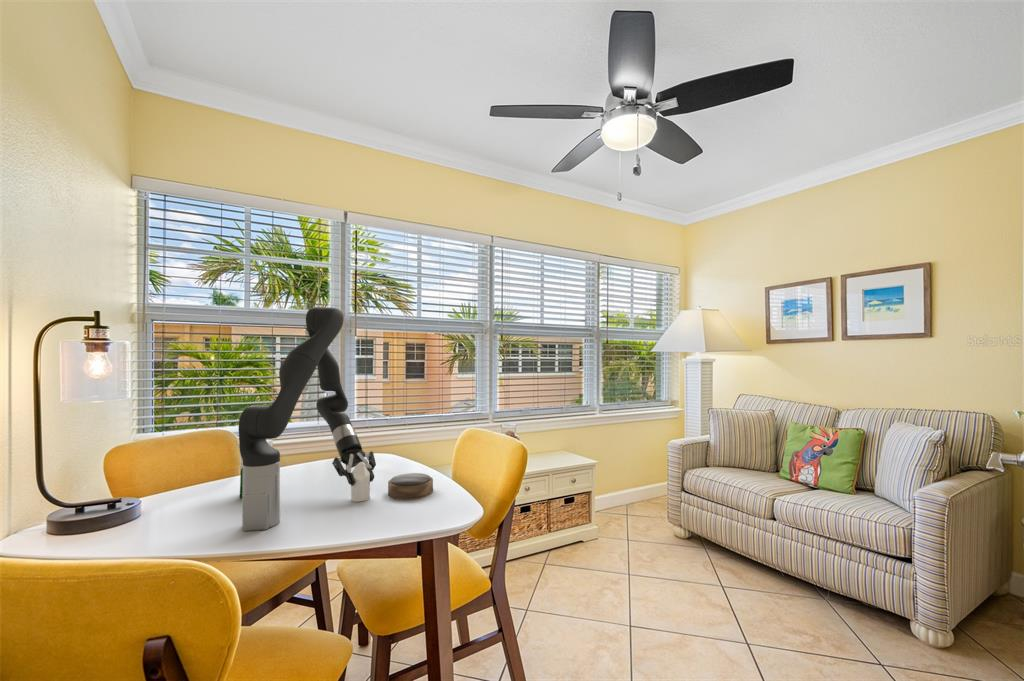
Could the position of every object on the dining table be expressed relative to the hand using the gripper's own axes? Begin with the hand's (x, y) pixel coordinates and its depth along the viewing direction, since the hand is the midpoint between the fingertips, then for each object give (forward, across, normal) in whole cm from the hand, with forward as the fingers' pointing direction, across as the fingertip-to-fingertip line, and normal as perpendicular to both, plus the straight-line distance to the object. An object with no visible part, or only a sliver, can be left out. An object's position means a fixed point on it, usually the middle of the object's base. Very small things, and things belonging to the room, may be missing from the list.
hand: (362, 482), depth 149 cm
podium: (+7, +15, +1) cm, 17 cm away
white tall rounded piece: (+3, 0, +6) cm, 6 cm away
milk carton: (-19, -23, +27) cm, 40 cm away
